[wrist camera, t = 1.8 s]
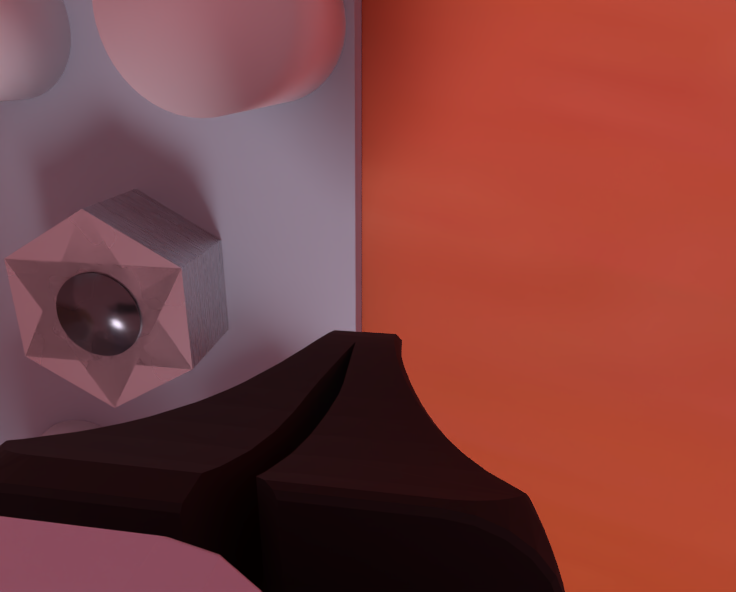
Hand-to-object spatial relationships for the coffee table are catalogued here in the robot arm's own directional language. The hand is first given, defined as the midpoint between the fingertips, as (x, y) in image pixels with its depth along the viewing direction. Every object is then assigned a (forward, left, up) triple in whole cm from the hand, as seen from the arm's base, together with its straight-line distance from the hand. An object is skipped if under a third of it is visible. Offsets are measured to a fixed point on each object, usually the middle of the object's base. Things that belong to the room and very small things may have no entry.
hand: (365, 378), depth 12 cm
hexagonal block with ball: (0, +7, -5) cm, 8 cm away
